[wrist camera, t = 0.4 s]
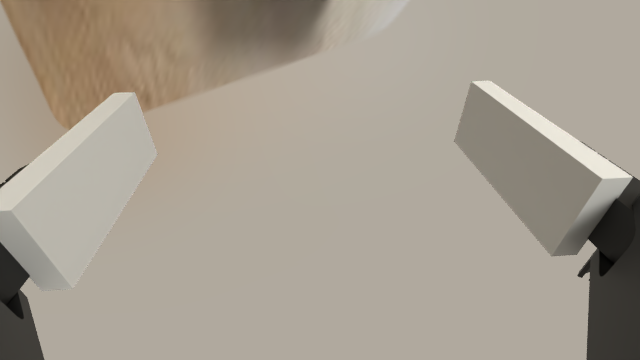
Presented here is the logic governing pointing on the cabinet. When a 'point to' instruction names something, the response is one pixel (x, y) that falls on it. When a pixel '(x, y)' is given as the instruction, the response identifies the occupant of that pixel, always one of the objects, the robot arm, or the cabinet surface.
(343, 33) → the cabinet surface
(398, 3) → the cabinet surface
